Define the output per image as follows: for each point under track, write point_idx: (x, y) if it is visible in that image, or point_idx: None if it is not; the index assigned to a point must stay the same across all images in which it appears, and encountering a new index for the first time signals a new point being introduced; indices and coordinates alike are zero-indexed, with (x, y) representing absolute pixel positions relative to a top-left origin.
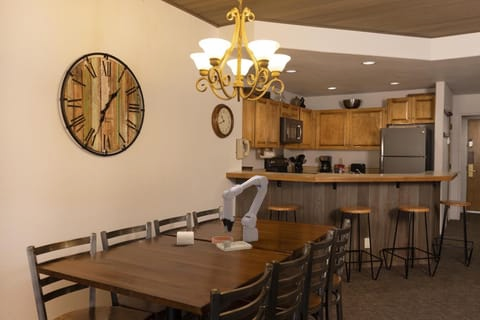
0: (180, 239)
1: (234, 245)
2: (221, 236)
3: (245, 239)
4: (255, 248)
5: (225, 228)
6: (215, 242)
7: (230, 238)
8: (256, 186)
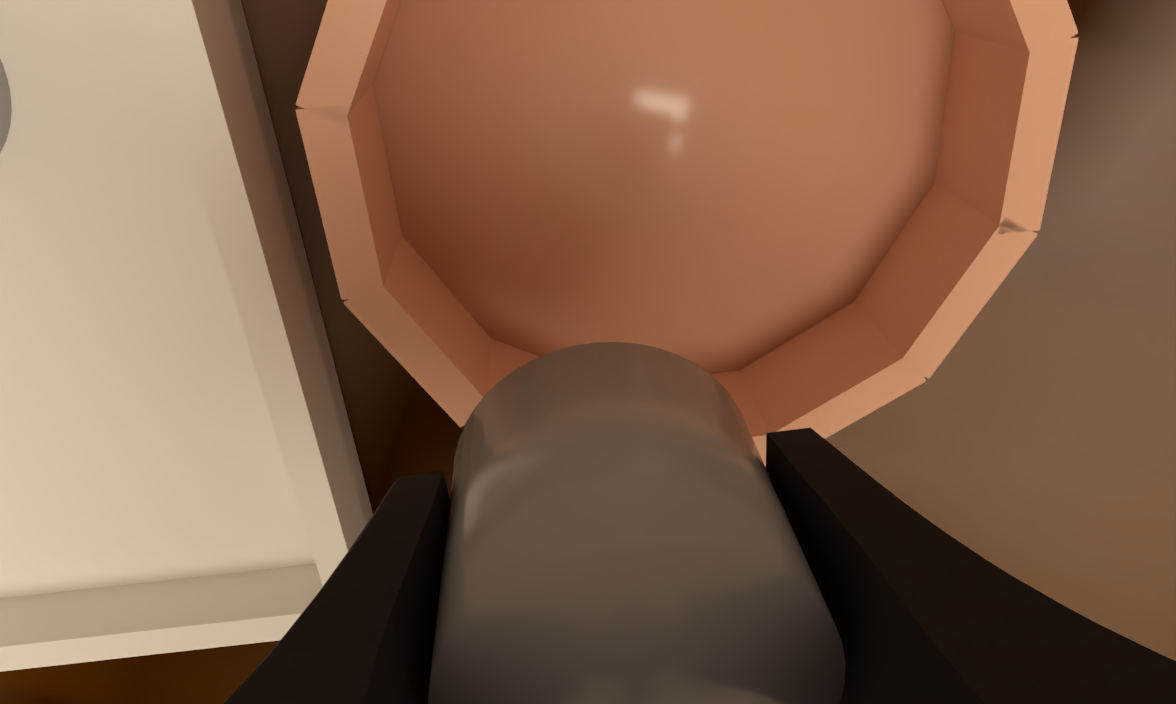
0: None
1: (220, 363)
2: (990, 231)
3: None
4: (20, 683)
5: (540, 476)
6: None
7: None
8: None
